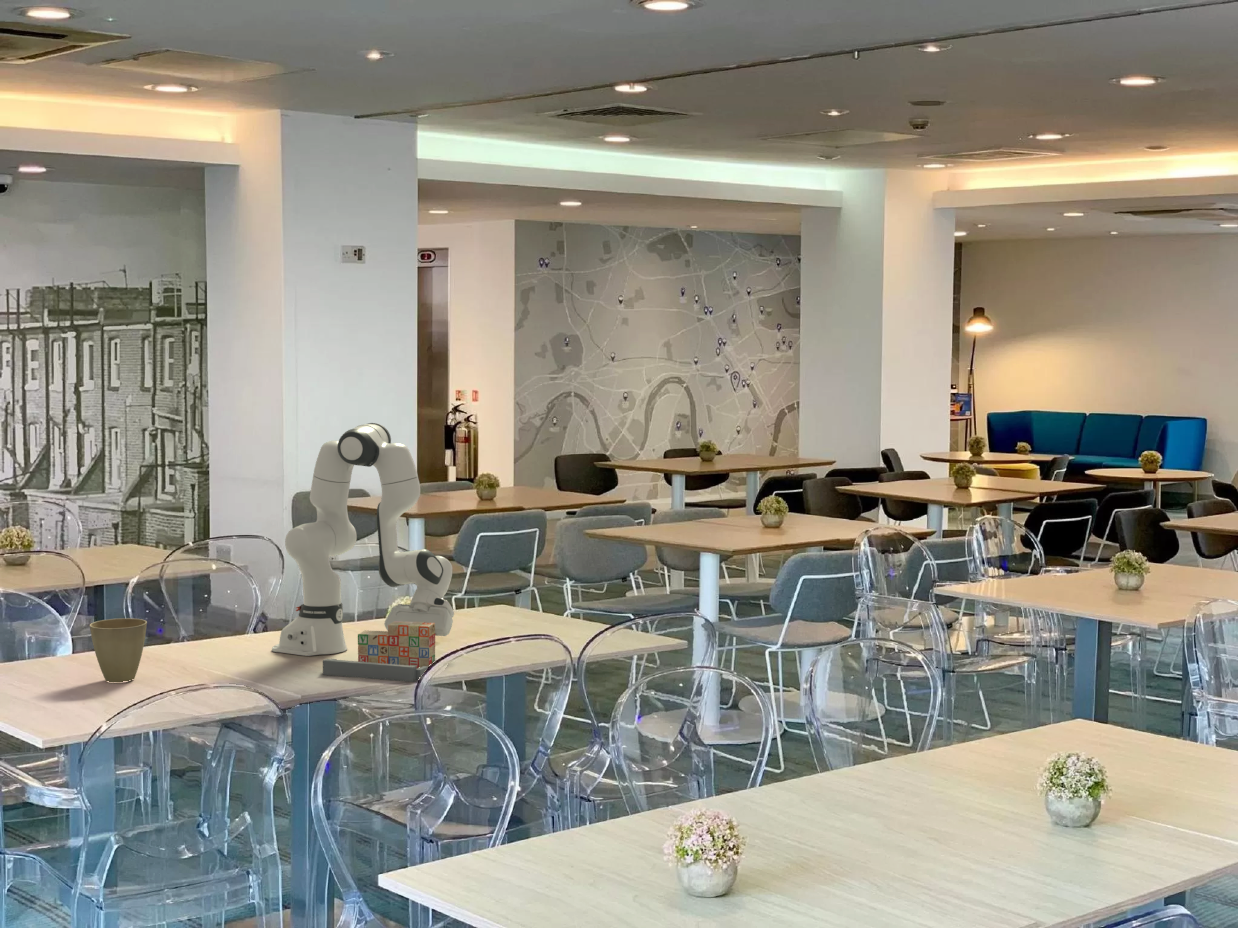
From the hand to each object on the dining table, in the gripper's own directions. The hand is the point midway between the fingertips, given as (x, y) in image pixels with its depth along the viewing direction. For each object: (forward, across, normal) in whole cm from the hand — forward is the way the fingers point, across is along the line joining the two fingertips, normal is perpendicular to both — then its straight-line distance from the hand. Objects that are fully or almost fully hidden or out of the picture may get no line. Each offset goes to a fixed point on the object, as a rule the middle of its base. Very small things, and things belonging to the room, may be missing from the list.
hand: (410, 644), depth 448 cm
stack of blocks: (+8, -1, 0) cm, 8 cm away
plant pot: (+40, -62, -32) cm, 80 cm away
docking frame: (+19, 0, -12) cm, 22 cm away
